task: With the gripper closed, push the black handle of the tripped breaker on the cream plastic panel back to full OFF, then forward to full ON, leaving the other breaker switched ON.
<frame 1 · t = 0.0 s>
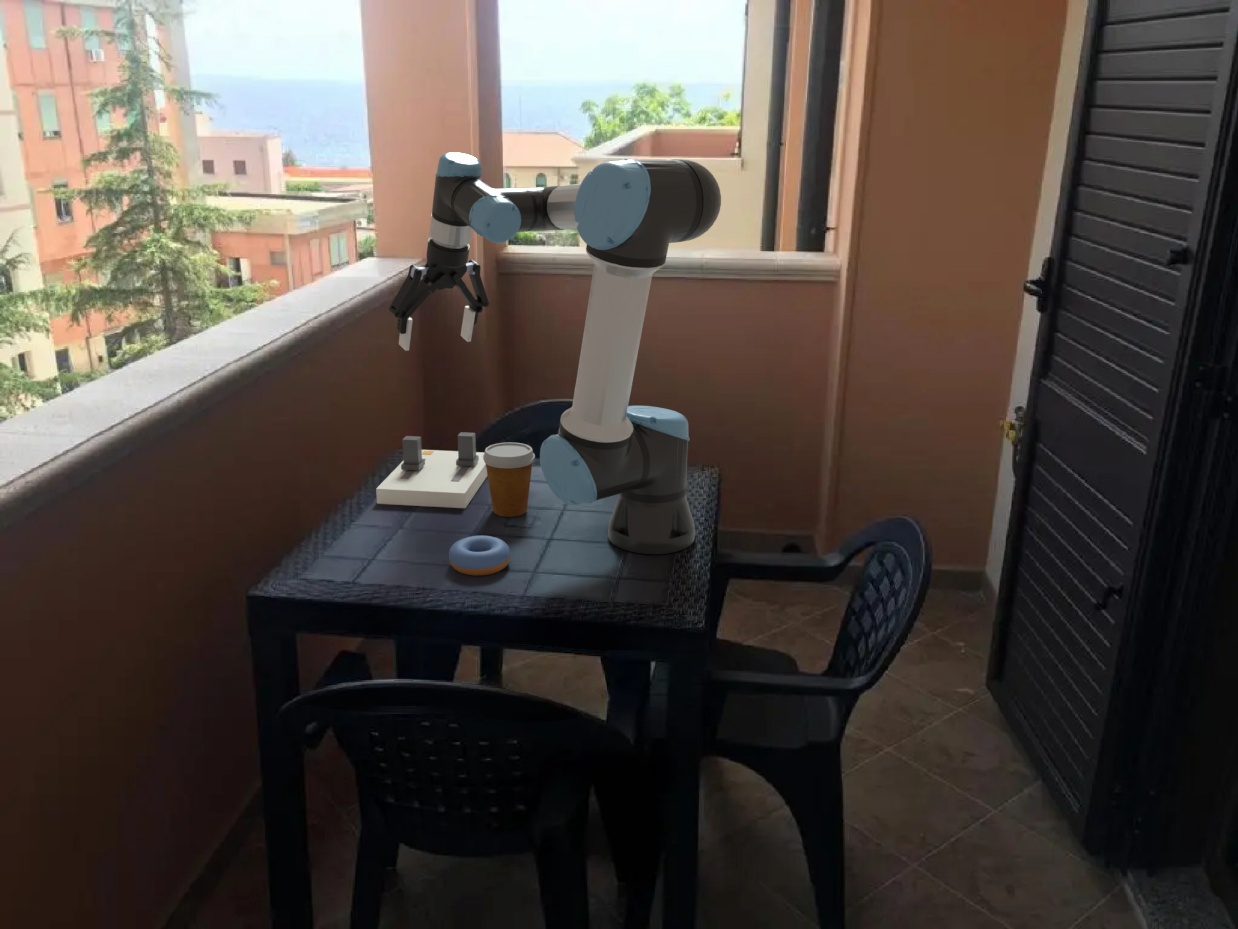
hand: (435, 342, 189), 28 cm above the table, tool tilted 20°, fingers open, 13 cm apart
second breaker: (467, 448, 196), point 6 cm above the table, slide at 4.0 cm
tripped breaker: (412, 452, 193), point 6 cm above the table, slide at 0.0 cm
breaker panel: (438, 484, 195), on the table
disposable coffee cup: (510, 511, 182), on the table
doughnut: (480, 567, 160), on the table
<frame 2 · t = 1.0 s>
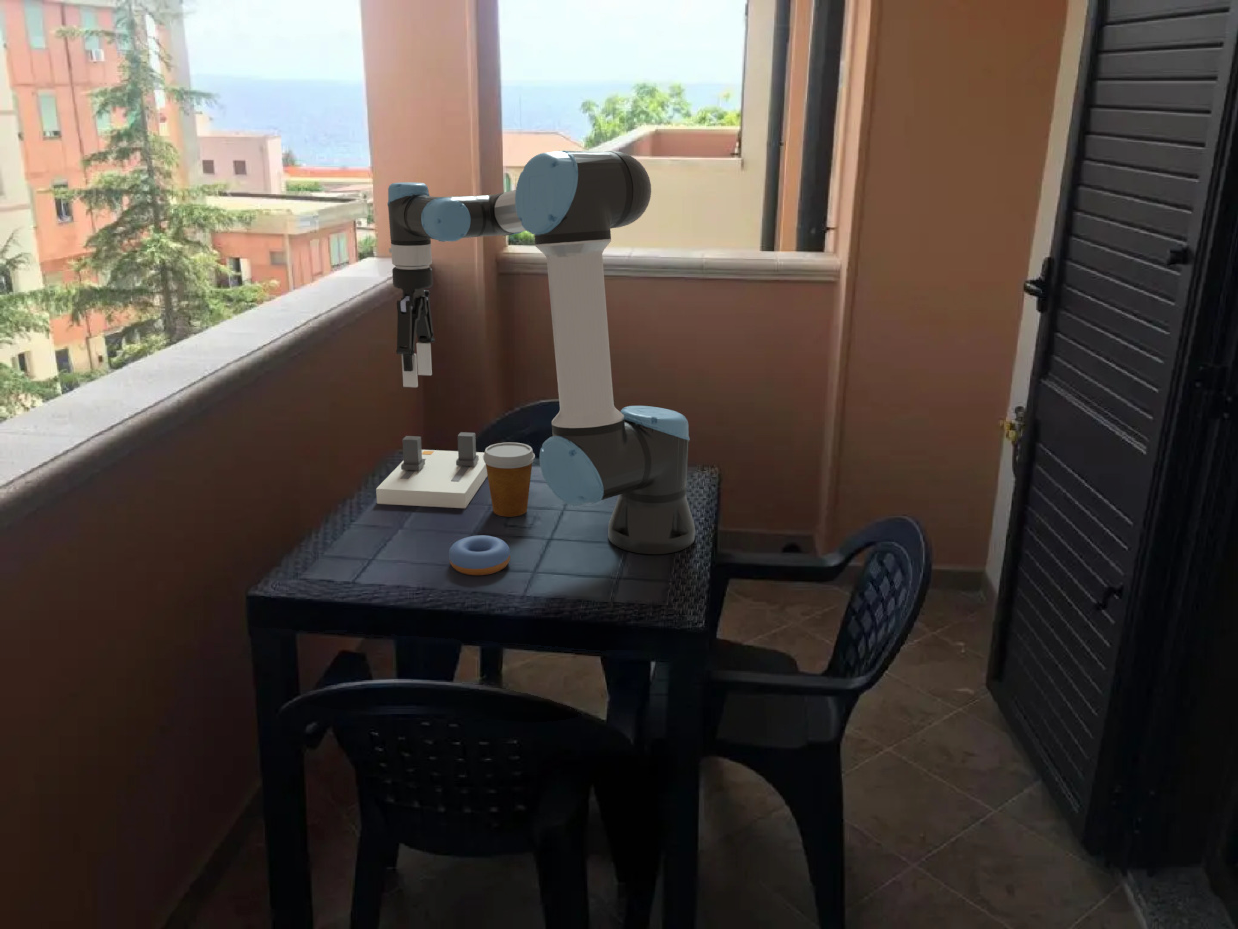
hand: (418, 380, 194), 20 cm above the table, tool pointing down, fingers open, 9 cm apart
nothing on the table moved.
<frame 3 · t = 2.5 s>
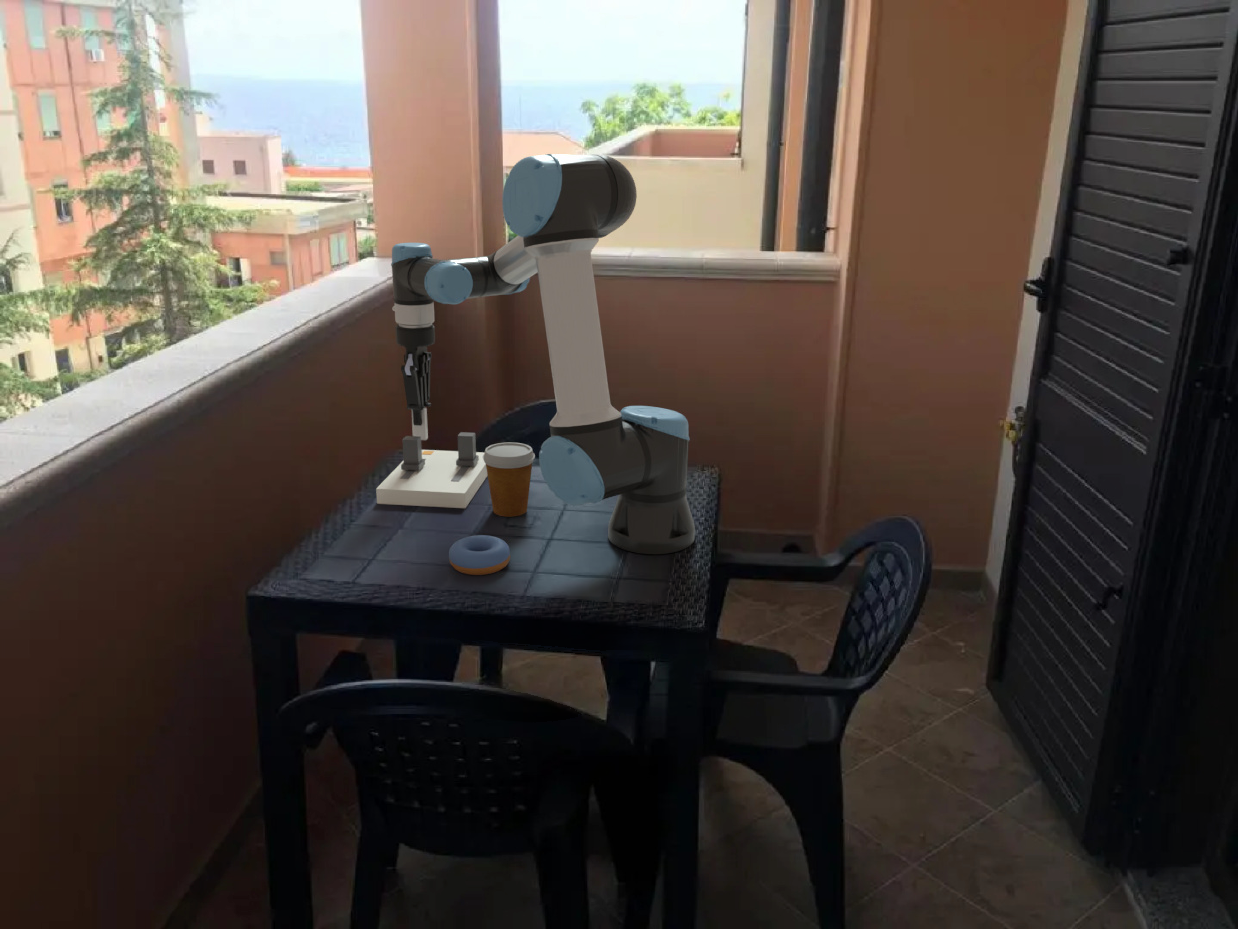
hand: (420, 438, 199), 7 cm above the table, tool pointing down, fingers closed
nothing on the table moved.
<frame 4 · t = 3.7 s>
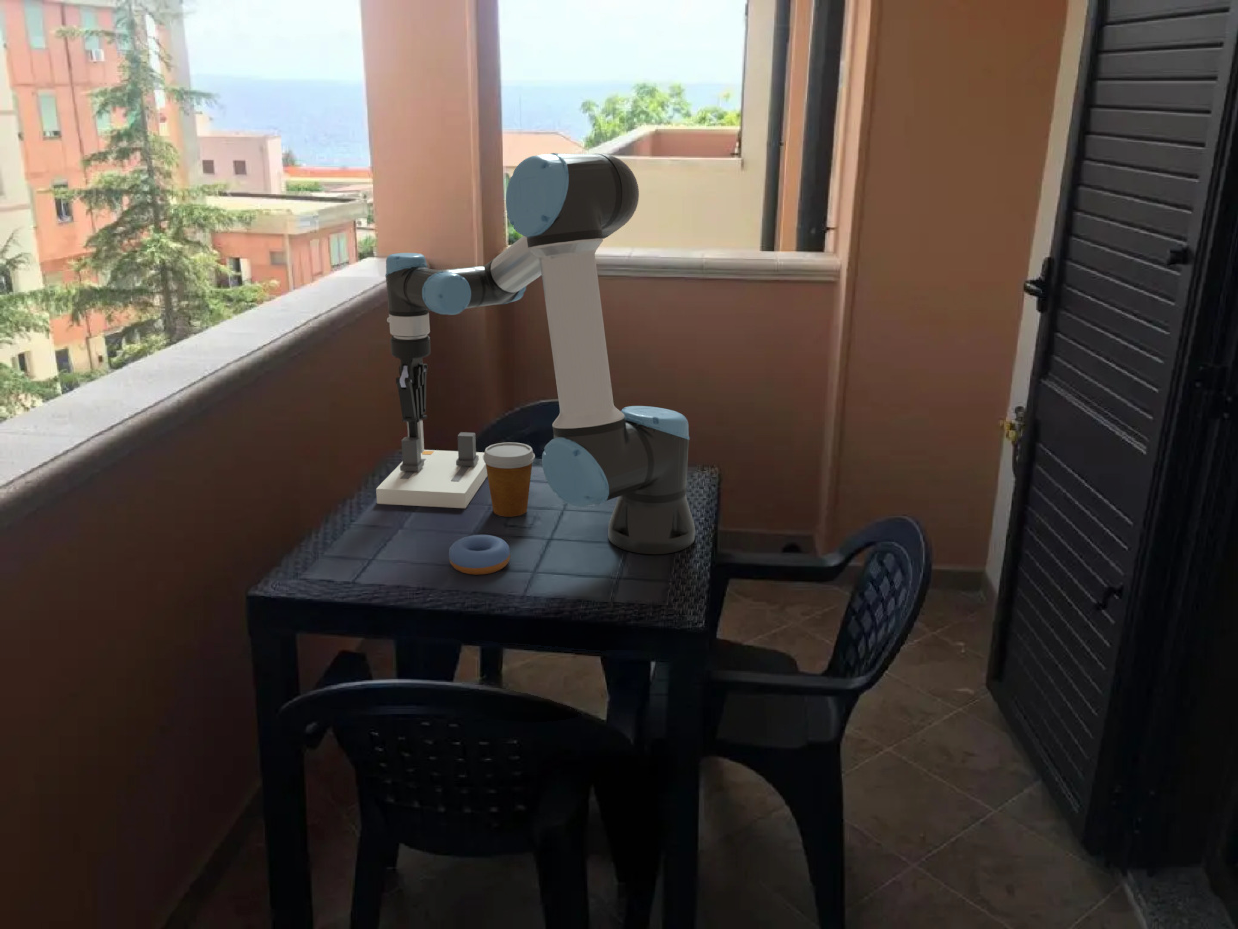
hand: (416, 451, 196), 6 cm above the table, tool pointing down, fingers closed
tripped breaker: (411, 453, 193), point 6 cm above the table, slide at -0.6 cm, touching gripper
everything else where it was.
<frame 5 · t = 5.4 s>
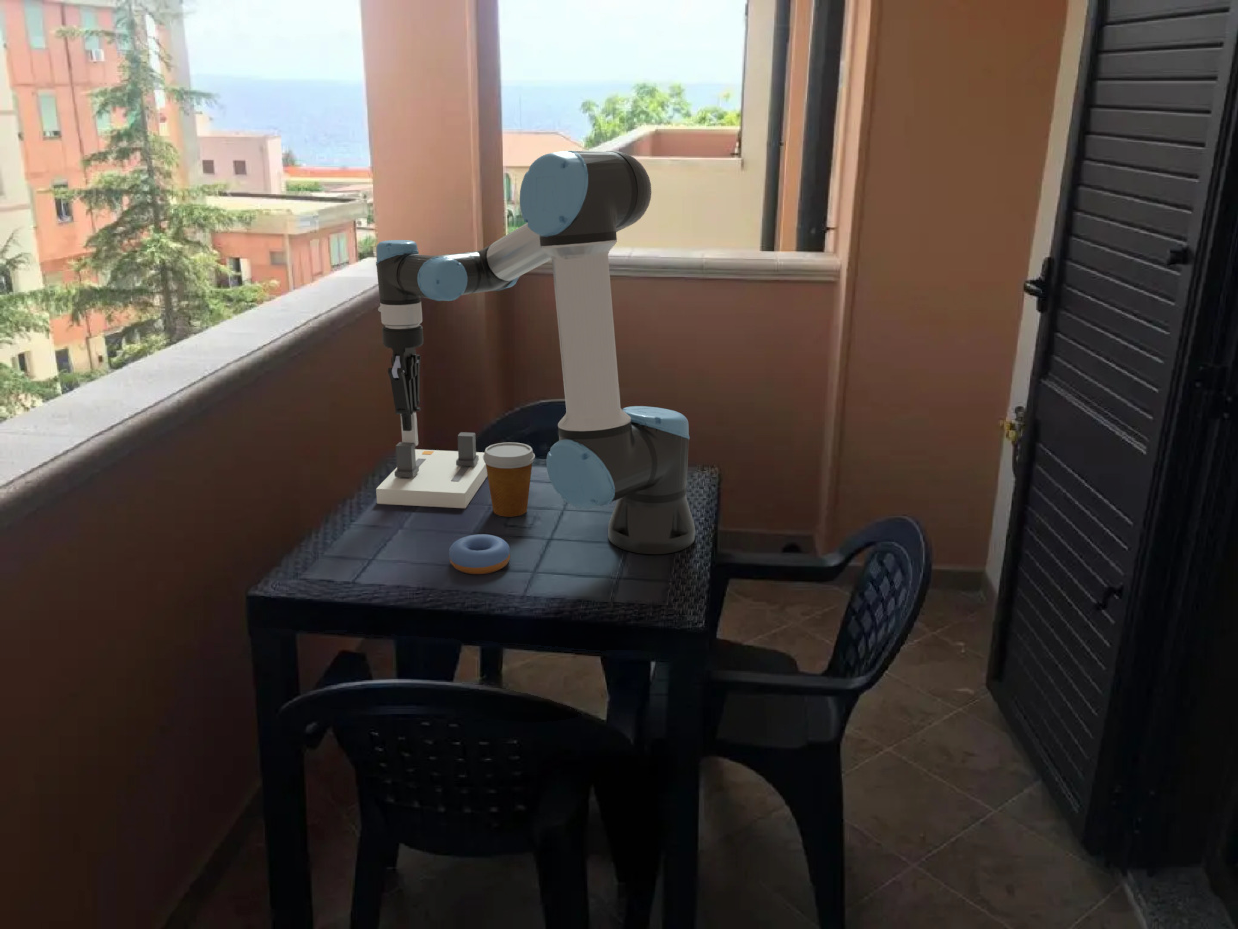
hand: (410, 445, 190), 9 cm above the table, tool pointing down, fingers closed
tripped breaker: (406, 459, 189), point 6 cm above the table, slide at -4.1 cm
everything else where it was.
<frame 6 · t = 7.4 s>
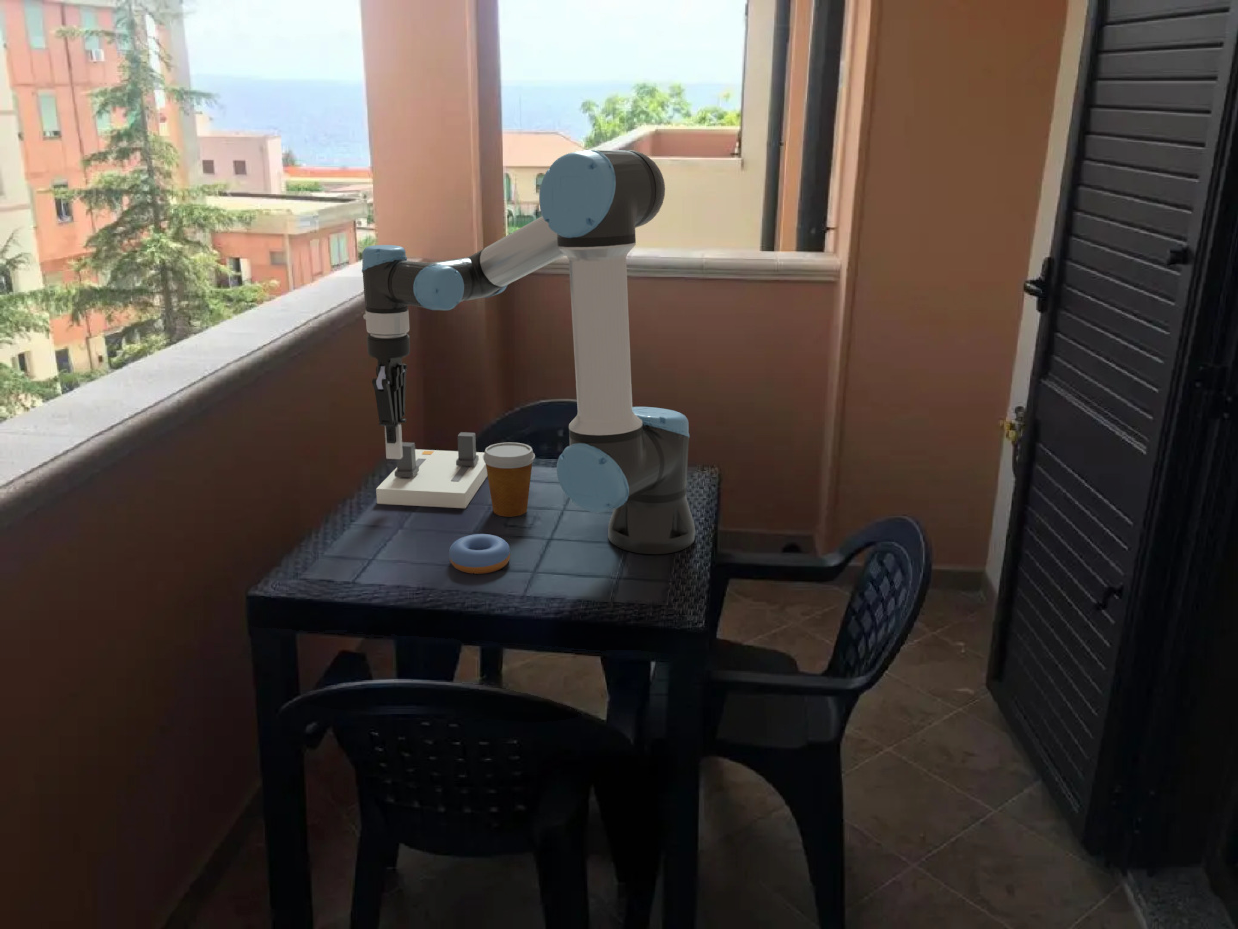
hand: (394, 457, 183), 9 cm above the table, tool pointing down, fingers closed
nothing on the table moved.
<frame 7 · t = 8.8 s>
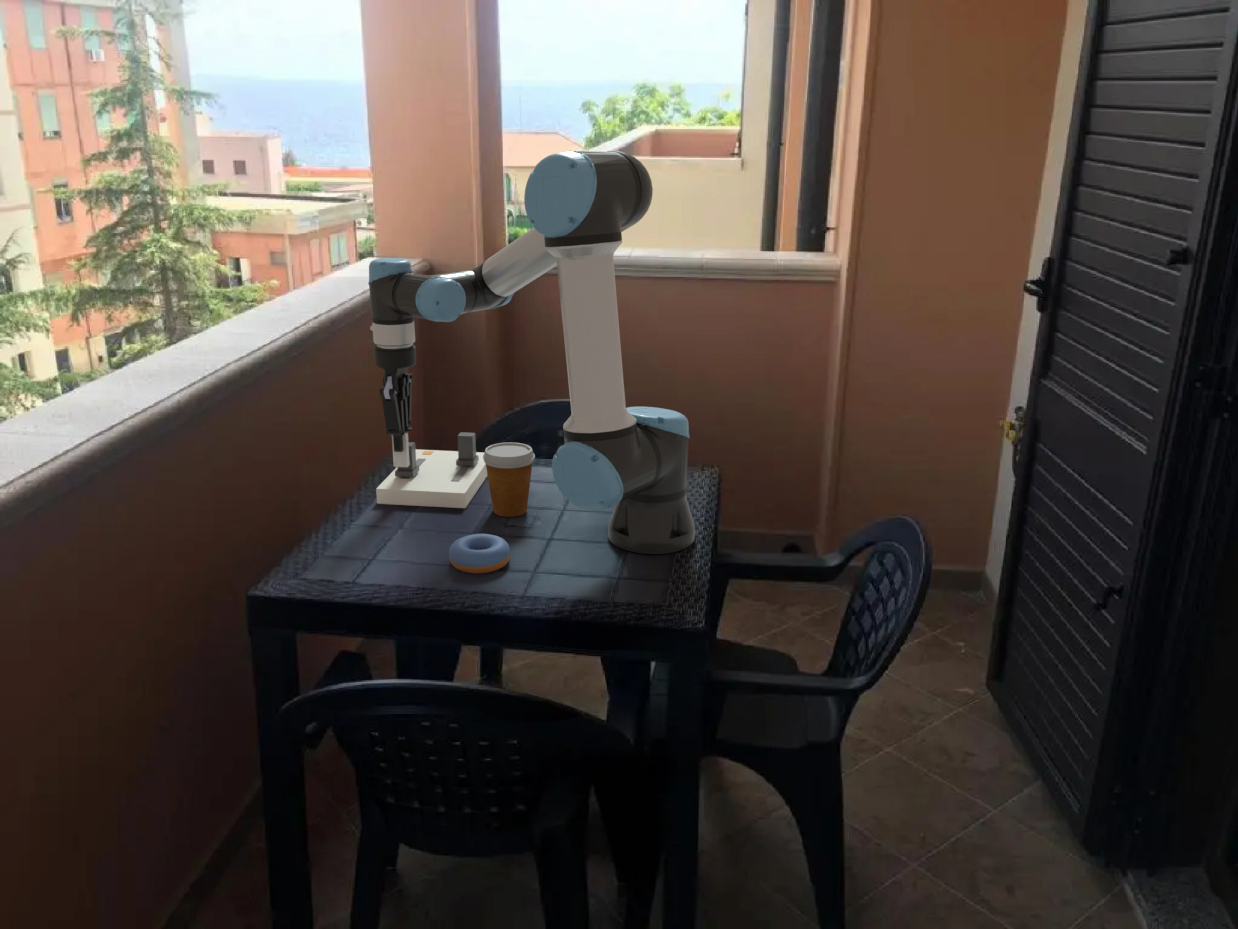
hand: (401, 465, 187), 6 cm above the table, tool pointing down, fingers closed
tripped breaker: (406, 458, 189), point 6 cm above the table, slide at -3.9 cm, touching gripper
everything else where it was.
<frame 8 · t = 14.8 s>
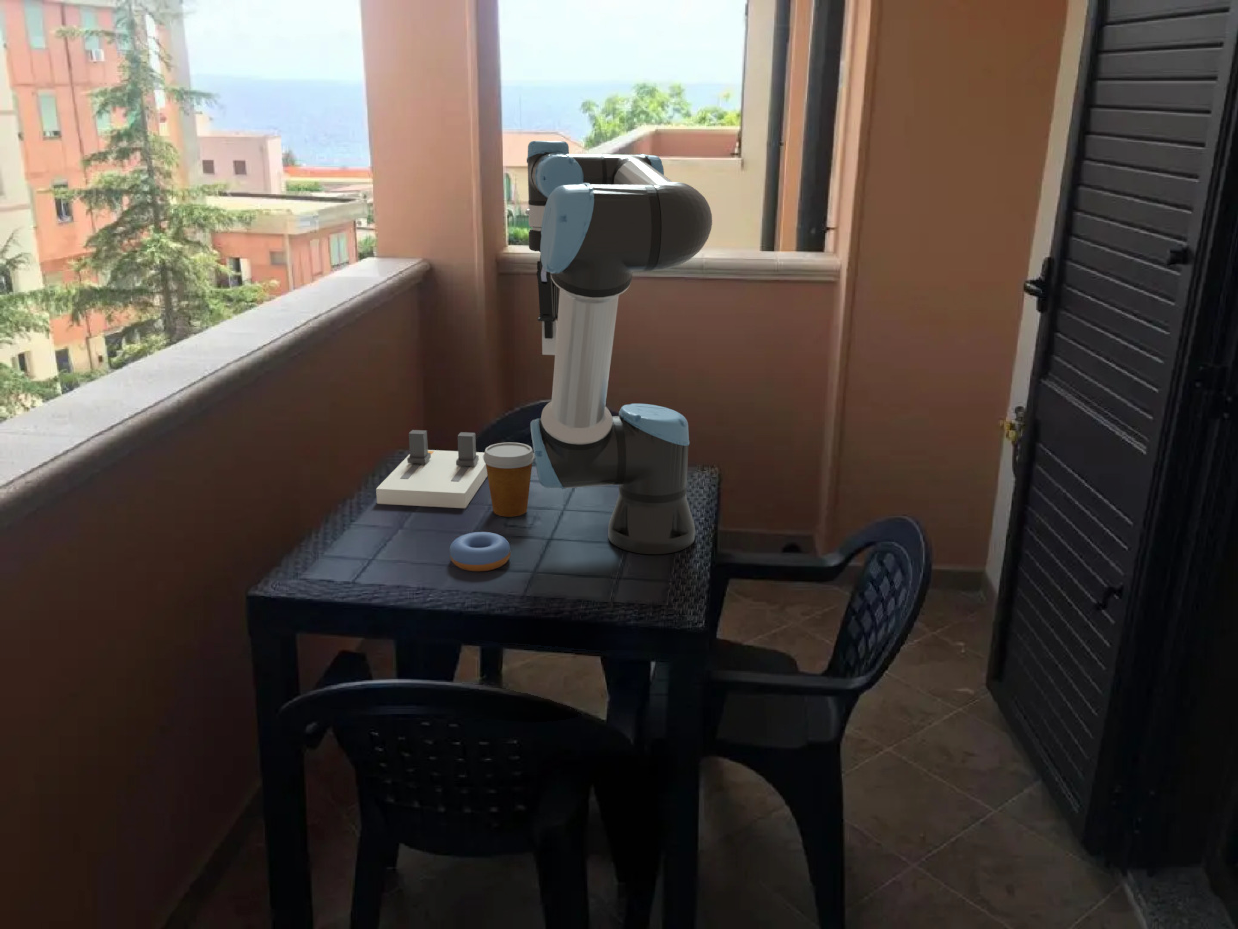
hand: (549, 353, 188), 26 cm above the table, tool pointing down, fingers closed
tripped breaker: (418, 446, 197), point 6 cm above the table, slide at 4.1 cm
at the end: tripped breaker slide at 4.1 cm; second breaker slide at 4.0 cm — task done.
